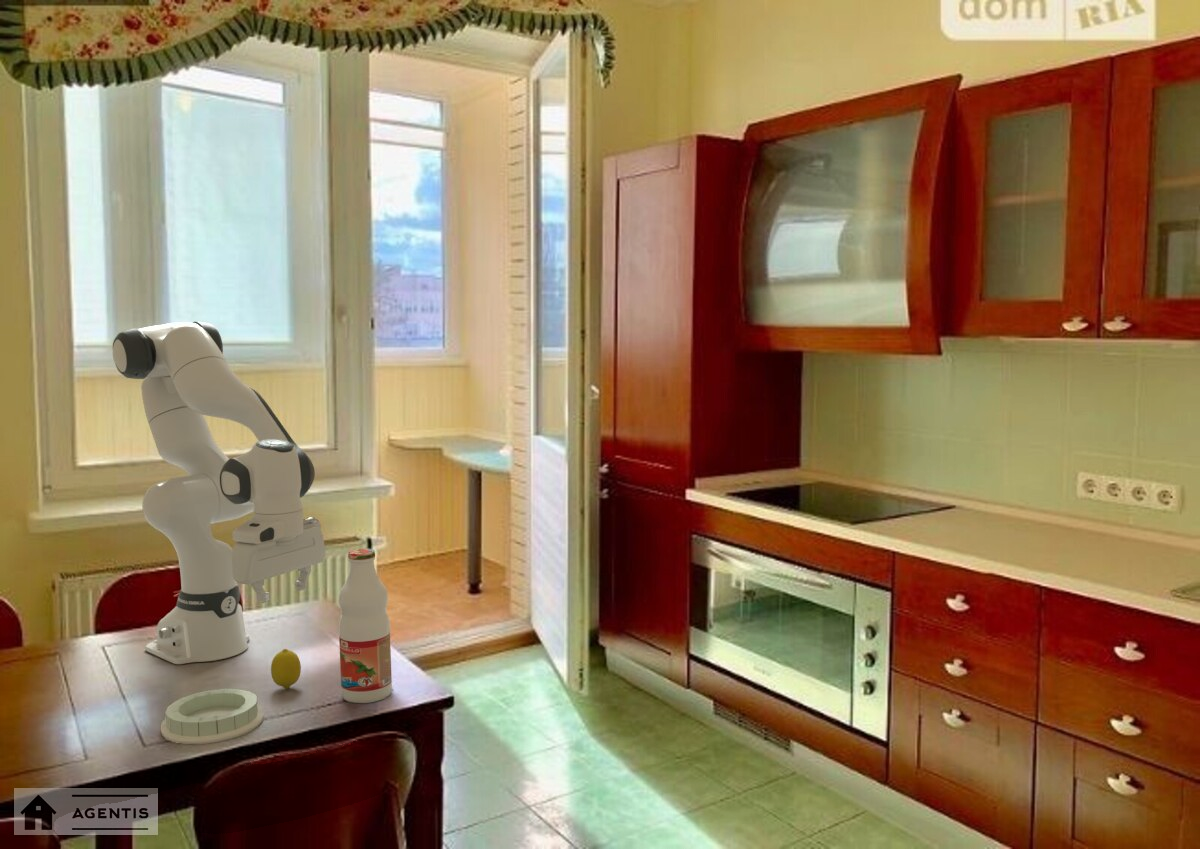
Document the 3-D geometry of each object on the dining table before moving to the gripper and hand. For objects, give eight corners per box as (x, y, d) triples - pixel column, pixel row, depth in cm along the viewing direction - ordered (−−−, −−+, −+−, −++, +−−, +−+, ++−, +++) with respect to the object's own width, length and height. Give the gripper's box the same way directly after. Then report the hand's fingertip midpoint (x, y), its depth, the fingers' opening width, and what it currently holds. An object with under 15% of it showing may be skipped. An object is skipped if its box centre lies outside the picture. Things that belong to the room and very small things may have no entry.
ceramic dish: (139, 732, 169) (138, 713, 169) (220, 698, 184) (219, 680, 184) (205, 752, 161) (204, 732, 161) (284, 715, 176) (283, 697, 175)
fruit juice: (401, 694, 185) (396, 551, 182) (357, 708, 179) (351, 560, 175) (376, 681, 192) (370, 543, 189) (332, 694, 185) (326, 551, 182)
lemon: (292, 695, 185) (290, 654, 184) (266, 693, 186) (264, 653, 186) (307, 684, 191) (305, 645, 190) (281, 682, 192) (279, 643, 191)
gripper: (308, 513, 196) (311, 580, 197) (224, 533, 178) (228, 607, 179) (331, 516, 192) (334, 584, 194) (248, 537, 175) (252, 611, 176)
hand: (282, 595), depth 186 cm, fingers open, 8 cm apart
